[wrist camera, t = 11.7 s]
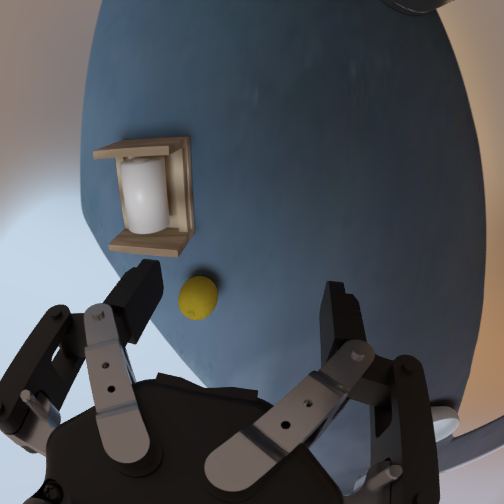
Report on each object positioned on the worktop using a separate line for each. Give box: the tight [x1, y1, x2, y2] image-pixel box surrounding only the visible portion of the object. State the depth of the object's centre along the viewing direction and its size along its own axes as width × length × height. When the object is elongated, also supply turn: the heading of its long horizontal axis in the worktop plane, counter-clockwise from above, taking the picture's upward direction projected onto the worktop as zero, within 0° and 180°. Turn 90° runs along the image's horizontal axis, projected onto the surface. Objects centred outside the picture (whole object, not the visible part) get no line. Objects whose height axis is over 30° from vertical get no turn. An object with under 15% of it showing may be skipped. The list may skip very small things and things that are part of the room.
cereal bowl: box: [431, 406, 460, 442], centre depth 56 cm, size 17×17×7 cm
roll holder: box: [93, 136, 195, 258], centre depth 35 cm, size 13×10×7 cm
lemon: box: [178, 276, 218, 320], centre depth 42 cm, size 6×6×8 cm
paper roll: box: [120, 155, 170, 234], centre depth 35 cm, size 9×6×6 cm
